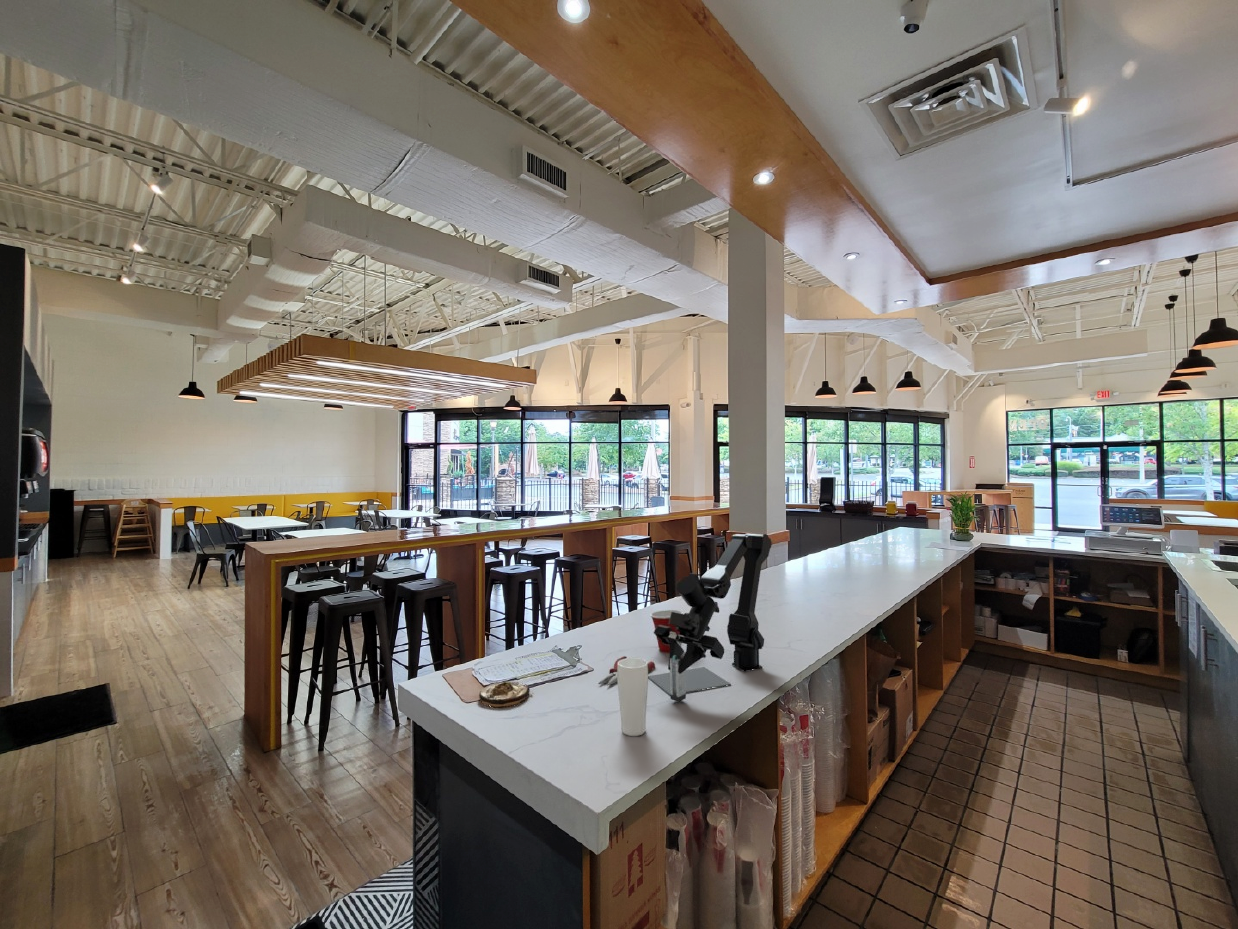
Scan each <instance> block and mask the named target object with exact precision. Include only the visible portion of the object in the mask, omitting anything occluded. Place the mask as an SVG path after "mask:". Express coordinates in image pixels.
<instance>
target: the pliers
mask: <svg viewBox="0 0 1238 929" xmlns="http://www.w3.org/2000/svg"><path fill="white" fill-rule="evenodd" d="M625 658H628V657H627V656H625V655H624V656H621V657H619V658H617V659H616V660H615V662H614V664H613V668H610V669H609V672H608V673H609V674H607V675H606V676H605V677H604V678H603V679H601V680H600V681H599V682H598V683H597V684H598V685H603V684H606V686H607V687H608V686H610V685H613V684H615V683H618V681H617V666H618V661H620V660H622V659H625ZM647 663H648V673H650V672H652V671H653V670H654V669H655V667H656V664H655V662H654V661H652V660H651V661H649V662H647Z"/></svg>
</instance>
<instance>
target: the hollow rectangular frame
mask: <svg viewBox="0 0 1238 929" xmlns="http://www.w3.org/2000/svg"><path fill="white" fill-rule="evenodd" d="M683 657H684V656H681V657H680V656H676V655H674V656H673V657H672V658H670V670H669V673H670V695H671V696H670V700H673V701H675V702H678V703H680V702H682V701H684V700H686V698H687V693H686V681H685V671H684V672H682V673H681V674H679V673H678V668H679V666H680V663H681V661H682V659H683Z"/></svg>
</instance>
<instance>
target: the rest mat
mask: <svg viewBox="0 0 1238 929" xmlns="http://www.w3.org/2000/svg"><path fill="white" fill-rule="evenodd" d="M648 680H650V681H651V682H652V683H654V685H656V686H657V687H659V689H661V690H662V691H664V692H665V693H666V694H667V696H669V697H671V695H670V672H664V673H658V674H653V675H648ZM685 681H686V694H690V692H691V693H694V691H696V692H699V691H698V690H702V689H707V688H712V687H719V688H723V687H722V686H724V687H727V686H726V685H730V686H732V684H731V683H730V682H729V681H727V680H726V679H724V678H722V677H721V676H720V675H718V674H716V673H715V672H713V671H711V670H710V669H709V668H706V667H705V666H703V667H697V668H691V669H686V670H685ZM702 691H703V690H702Z"/></svg>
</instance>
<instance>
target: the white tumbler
mask: <svg viewBox="0 0 1238 929" xmlns="http://www.w3.org/2000/svg"><path fill="white" fill-rule="evenodd" d="M648 663H649V662H648V660H645V659H644V658H639V657H627V658H625V659H622V660H620V661H618V666H617V681H618V682H617V690H618V701H619V711H620V725H621V726H620V727H621V728H620V729H621V731H622V733H623V734H624V735H626V736H628V737H638V736H641V735H643V734H644V733H645V732H646V731H647V730H646V729H647V728H646V727H647V726H646V725H647V724H646V720H647V706H648V705H647V704H648V691H649V678H648V676H649V672H648Z"/></svg>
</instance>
